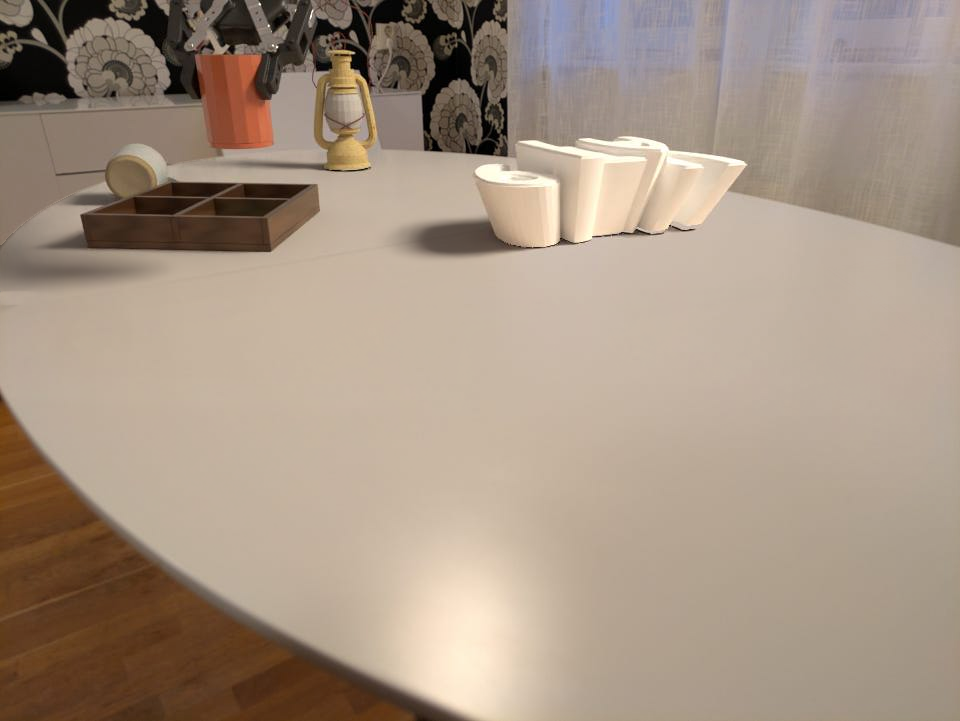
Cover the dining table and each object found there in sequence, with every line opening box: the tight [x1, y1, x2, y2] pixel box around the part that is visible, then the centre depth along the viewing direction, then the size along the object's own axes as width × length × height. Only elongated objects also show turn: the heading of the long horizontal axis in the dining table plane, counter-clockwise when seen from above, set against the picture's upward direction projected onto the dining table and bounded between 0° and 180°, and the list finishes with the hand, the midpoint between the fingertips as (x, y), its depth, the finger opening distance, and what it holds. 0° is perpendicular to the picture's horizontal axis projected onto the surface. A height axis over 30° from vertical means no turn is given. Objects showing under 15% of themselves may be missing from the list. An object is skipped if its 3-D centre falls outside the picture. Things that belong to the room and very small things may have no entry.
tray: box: [79, 181, 321, 252], centre depth 86 cm, size 21×21×4 cm
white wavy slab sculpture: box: [472, 135, 748, 249], centre depth 85 cm, size 35×16×11 cm, turn 111°
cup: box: [195, 53, 275, 150], centre depth 63 cm, size 6×6×8 cm
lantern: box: [310, 0, 378, 170], centre depth 125 cm, size 12×10×30 cm
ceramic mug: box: [104, 143, 182, 200], centre depth 101 cm, size 11×8×8 cm
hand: (227, 93), depth 62 cm, fingers closed on cup, 6 cm apart
